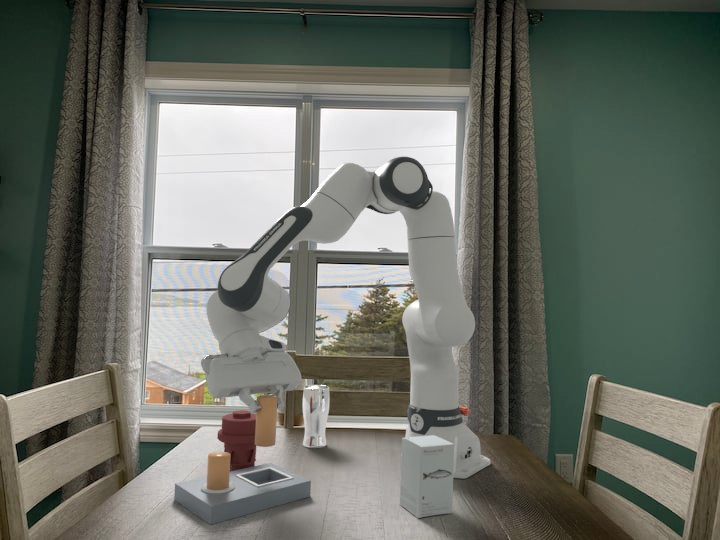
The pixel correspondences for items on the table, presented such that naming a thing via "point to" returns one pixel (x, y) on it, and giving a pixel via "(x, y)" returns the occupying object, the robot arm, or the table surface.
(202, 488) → the grey peg board
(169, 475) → the table surface
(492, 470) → the table surface
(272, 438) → the orange smooth rounded part
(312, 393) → the beer glass
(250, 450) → the mechanical component
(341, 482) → the table surface
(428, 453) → the supplement box
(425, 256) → the robot arm
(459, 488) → the table surface
